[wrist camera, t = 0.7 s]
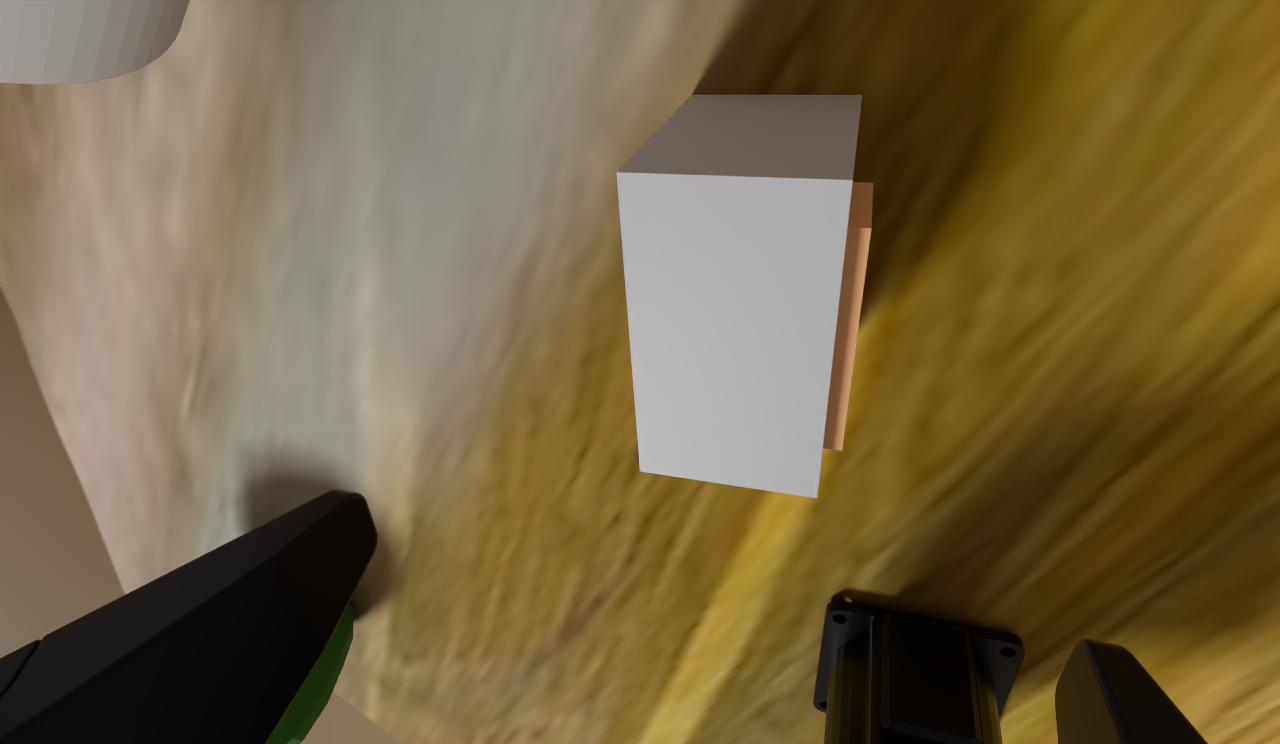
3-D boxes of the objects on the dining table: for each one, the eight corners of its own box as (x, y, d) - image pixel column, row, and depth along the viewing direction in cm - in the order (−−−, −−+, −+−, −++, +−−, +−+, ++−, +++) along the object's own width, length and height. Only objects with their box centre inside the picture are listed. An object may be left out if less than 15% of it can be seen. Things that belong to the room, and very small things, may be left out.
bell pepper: (208, 549, 37) (22, 728, 29) (292, 515, 32) (102, 714, 25) (317, 649, 40) (176, 837, 32) (408, 630, 35) (271, 841, 28)
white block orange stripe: (847, 354, 20) (836, 501, 15) (695, 339, 21) (640, 471, 16) (880, 94, 16) (878, 181, 11) (691, 94, 17) (616, 172, 12)
